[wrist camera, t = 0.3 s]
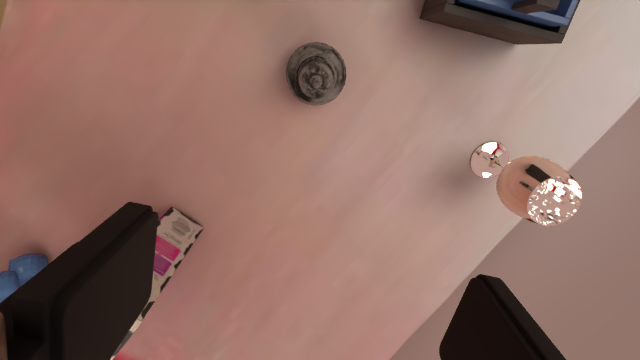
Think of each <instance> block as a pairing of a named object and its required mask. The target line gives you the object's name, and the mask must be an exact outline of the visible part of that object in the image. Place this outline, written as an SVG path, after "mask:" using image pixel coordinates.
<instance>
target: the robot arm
mask: <svg viewBox="0 0 640 360" xmlns="http://www.w3.org/2000/svg"><path fill="white" fill-rule="evenodd" d="M157 226H158V213H156V212H153V210H152V207H151V206H148V205H143V204H138V203H134V202H128V203H126V204H125V205H124V206H123V207H122V208H120V209H119V210H118V211H117V212H115V213H114V214H113V215H112V216H110V217H109V218H108V219H107V220H105V221H104V222H103V223H102V224H101V225H99V226H98V227H97V228H96V229H94V230H93V231H92V232H91V233H89V234H88V235H87V236H86V237H84V238H83V239H82V240H81V241H80V242H77V243H75V244H74V245H72V246H71V247H70V248H68V249H67V250H66V251H65V252H63V253H62V254H61V255H60V256H58V257H57V258H56V259H55V260H53V261H52V262H51V263H50V264H48V265H47V266H46V267H45V268H43V269H42V270H41V271H40V272H38V273H37V274H36V275H35V276H33V277H32V278H31V279H30V280H28V281H27V282H26V283H25V284H23V285H22V286H21V287H20V288H18V289H17V290H16V291H15V292H13V293H12V294H11V295H10V296H8V297H7V298H6V299H5V300H3V301H2V302H1V303H0V360H110V359H111V357H112V356H113V354H114V353H115V351H116V350H117V348H118V347H119V345H120V344H121V342H122V341H123V339H124V338H125V336H126V335H127V333H128V332H129V330H130V329H131V327H132V326H133V324H134V323H135V321H136V320H137V318H138V317H139V315H140V314H141V312H142V311H143V309H144V308H145V306H146V305H147V303H148V301H149V298H150V295H151V291H152V280H153V269H154V258H155V247H156V237H157ZM439 353H440V358H441V360H566V359H565V358H564V357H563V355H562V354H561V353H560V351H559V350H558V349H557V348H556V347H555V345H554V344H553V343H552V342H551V340H550V339H549V338H548V337H547V335H546V334H545V333H544V332H543V330H542V329H541V328H540V327H539V325H538V324H537V323H536V322H535V320H533V318H532V317H531V315H530V314H529V313H528V312H527V311H526V309H525V308H524V307H523V306H522V304H521V303H520V302H519V301H518V299H517V298H516V297H515V296H514V294H513V293H512V292H511V291H510V290H509V288H508V287H507V286H506V285H505V283H504V282H503V281H502V280H501V279H500V278H497V277H492V276H487V275H482V274H480V275H478V276H477V277H476V278H472V279H471V280H470V282H469V284H468V286H467V288H466V290H465V292H464V294H463V297H462V299H461V301H460V303H459V305H458V307H457V309H456V312H455V314H454V316H453V318H452V320H451V322H450V324H449V327H448V329H447V331H446V333H445V335H444V338H443V340H442V342H441V344H440V349H439Z"/></svg>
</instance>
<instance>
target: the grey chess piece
mask: <svg viewBox="0 0 640 360" xmlns="http://www.w3.org/2000/svg"><path fill="white" fill-rule="evenodd" d="M286 79H287V83H288V86H289V89H290V90H291V92H292V93H293V94H294V96H296V97H297V98H298V99H299V100H300V101H302V102H304V103H306V104H311V105H323V104H325V103H328V102H330V101H332V100H333V99H335V98H336V97H337V96H338V95H339V93H340V92H341V91H342V89H343V87H344V85H345V80H346V67H345V64H344V61H343V59H342V57H341V56H340V54H339V53H338V52H337V51H336V50H335V49H334V48H332V47H331V46H329V45H327V44H323V43H318V42H316V43H308V44H306V45H303V46H301V47H300V48H299V49H297V50H296V51H295V52H294V53H293V55H292V56H291V57H290V59H289V62H288V64H287V69H286Z"/></svg>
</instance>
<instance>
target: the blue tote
mask: <svg viewBox="0 0 640 360" xmlns="http://www.w3.org/2000/svg"><path fill="white" fill-rule="evenodd" d="M577 2H578V0H455V2H454V5H456V6H460V7H464V8H467V9H471V10H475V11H478V12H482V13H486V14H490V15H493V16H497V17H501V18H504V19H508V20H512V21H515V22H519V23H523V24H527V25H530V26H534V27H538V28H544V27H555V26H565V25H568V23H569V21H570V18H571V16H572V14H573V11H574V9H575V7H576V4H577Z"/></svg>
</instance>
